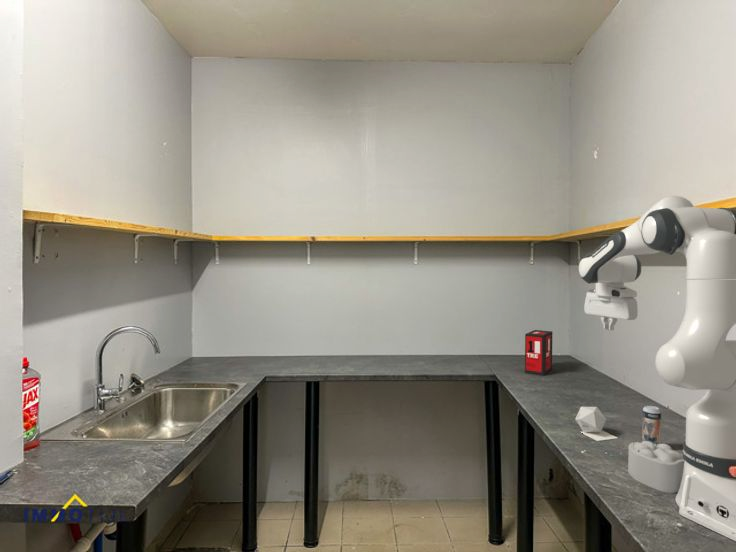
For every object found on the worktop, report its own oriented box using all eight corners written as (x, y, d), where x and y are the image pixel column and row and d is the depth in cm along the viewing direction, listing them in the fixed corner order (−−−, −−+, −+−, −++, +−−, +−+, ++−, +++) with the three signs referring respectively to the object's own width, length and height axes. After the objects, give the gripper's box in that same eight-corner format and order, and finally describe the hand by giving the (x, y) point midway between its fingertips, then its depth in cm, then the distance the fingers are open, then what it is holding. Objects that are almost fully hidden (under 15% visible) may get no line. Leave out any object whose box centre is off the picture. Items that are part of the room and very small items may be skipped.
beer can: (640, 446, 135) (640, 407, 134) (644, 441, 138) (645, 404, 138) (658, 450, 131) (659, 411, 131) (662, 446, 135) (663, 407, 134)
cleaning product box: (534, 366, 236) (535, 329, 235) (552, 369, 230) (552, 331, 230) (524, 373, 222) (525, 334, 222) (543, 375, 217) (543, 335, 216)
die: (569, 404, 151) (579, 420, 141) (595, 398, 149) (606, 413, 140) (575, 425, 152) (585, 441, 143) (601, 418, 150) (613, 435, 141)
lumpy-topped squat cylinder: (668, 495, 107) (669, 460, 106) (618, 472, 118) (618, 440, 118) (693, 485, 111) (694, 452, 111) (642, 464, 123) (642, 434, 123)
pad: (617, 438, 141) (618, 437, 141) (597, 441, 138) (597, 440, 138) (599, 429, 148) (599, 429, 148) (580, 432, 146) (580, 431, 146)
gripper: (580, 289, 164) (579, 326, 164) (626, 292, 144) (625, 334, 145) (593, 288, 166) (593, 325, 166) (641, 292, 146) (640, 333, 146)
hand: (608, 329), depth 155 cm, fingers closed
